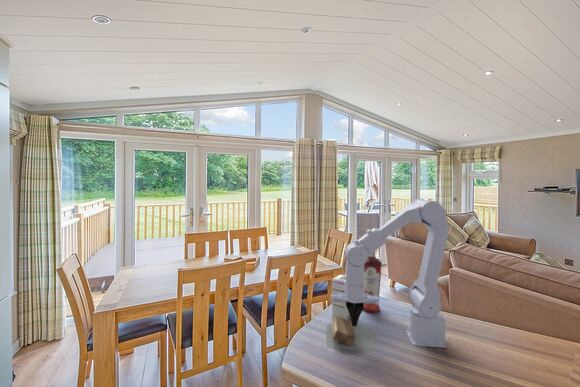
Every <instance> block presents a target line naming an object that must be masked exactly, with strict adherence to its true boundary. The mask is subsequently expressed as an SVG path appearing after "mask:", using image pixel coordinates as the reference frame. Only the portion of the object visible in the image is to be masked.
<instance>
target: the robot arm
mask: <svg viewBox="0 0 580 387" xmlns="http://www.w3.org/2000/svg"><path fill="white" fill-rule="evenodd" d="M446 215H447V210H446V209H445V208H444V206H443V205H442V204H441V203H439V202H438V201H434V200H429V199H424V198H415V199H414V200H412V201H411V203H408V204H406V205H405V206H404V207H403V208H402V209H401V210H400V211H399V212H398V213H397V214H395V215H394V216H393V217H391V218H390V219H389V220H388V221H387V222H386V223H384V224H383V225H382V226H381V227H379V228H372V229H370V228H368V229H367V230H366V231H365V232H366V233H365V234H364V235H362V236H361V237H360V238H359V239H355V240H354V242H353V243H349V244H347V245H346V247H345V249H344V251H343V254H344V256H345V258H346V259H345V276H346V278H345V293H341V294H332V293H331V294H330V303H331V304H332V303H334V302H346V307H347V309H348V311H349V314H350V321H351V322H352V326H355V327H357V326H358V322H359V319H360V317H361V314H362V313H363V311H364V303H371V304H375V305H379V306H380V297H379V298H378V296H371V295H366V294H364V264H365V263H366V261H367V257H368V256H369V255H371V254H372V253H373V252H375V253H376V251H378V250H379V249H380V248H381V247H383V246H384V245H385V244H386V243H387V238H388V237H390V236H391V235H394V233H396V232H397V231H399V230H400V229H402V228H403V227H405V226H406V225H408V224H409V223H413V224H414V223H422V224H423V226H424V228H426V229H427V232H428V233H427V237H426V241H425V246H424V250H423V253H422V254H423V255H422V260H421V264H420V269H419V274H418V278H417V279H415V280H414V281H413V283H412V286H411V288H410V289H409V291H408V294H407V298H408V300H409V301H410V303H411V307H410V327H409V328H410V330H405V333H406V334H407V336H408V338H409V340H410V342H411V343H412V345H413V346H418V347H419V346H420V347H429V348H447V345H446V329H447V328H446V325H447V324H446V321H445V320H446V319H445V316H444V314H443V313H442V312H441V310H442V305H441V301H440V300H441V299H440V298H441V292H440V290H439V287H438V283H439V278H440V273H441V270H442V269H441V268H442V264H443V259H444V254H445V250H446V247H447V241H448V237H449V234H450V233H449V232H450V226H449V223H448V220H447V216H446Z"/></svg>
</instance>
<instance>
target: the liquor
mask: <svg viewBox="0 0 580 387" xmlns="http://www.w3.org/2000/svg"><path fill="white" fill-rule="evenodd" d="M382 265H383V264H382V261H381V260H380V259H378V258H376V251H375V252H373V253H372V254H371V255H369V256H368V257H367V261H366V263H365V264H364V294H366V295H371V296H378V298H379V299H380V292H381V291H380V288H381V279H382V278H381V276H382ZM380 309H381V307H380V304H379V305H375V304H371V303H364V309H363V311H365V312H367V313H376V312H378V311H379V310H380Z"/></svg>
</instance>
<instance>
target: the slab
mask: <svg viewBox="0 0 580 387" xmlns="http://www.w3.org/2000/svg"><path fill="white" fill-rule="evenodd" d="M331 325H332V337H333V339H334V340H337V341H339V342H342V343H345V344H348V345H350V346H352V344H353V341H354V339H355V334H354V329H353V326H352V322H351V320H349V319H348V320H346V319H343V318H341V317H338V316H335V315H334V317H333V318H332V322H331Z"/></svg>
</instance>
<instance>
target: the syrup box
mask: <svg viewBox="0 0 580 387" xmlns="http://www.w3.org/2000/svg"><path fill="white" fill-rule="evenodd" d="M345 278H346V274H345V275H344V274H338V275H337V276H335V277H333V278H332V279H331V294H341V293H345ZM331 315H332V316H331V317H333V318H334V315H335V316H338V317H341V318H343V319H346V320H349V319H351V317H350V314H349V311H348V309H347V307H346V302H334V303H331Z"/></svg>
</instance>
